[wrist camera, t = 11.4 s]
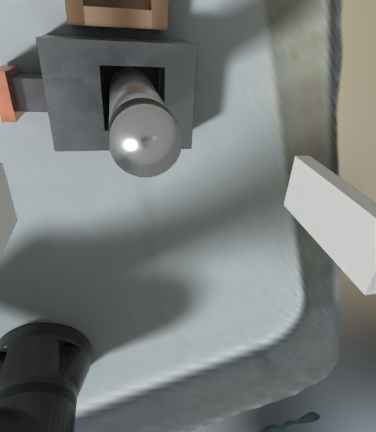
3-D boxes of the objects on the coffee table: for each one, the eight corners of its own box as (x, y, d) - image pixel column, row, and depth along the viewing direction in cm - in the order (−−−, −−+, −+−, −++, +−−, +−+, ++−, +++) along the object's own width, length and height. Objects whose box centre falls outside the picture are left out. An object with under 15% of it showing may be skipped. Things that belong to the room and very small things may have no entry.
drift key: (13, 111, 34) (2, 121, 30) (3, 65, 32) (-11, 71, 28) (94, 111, 35) (92, 121, 32) (89, 67, 33) (87, 73, 30)
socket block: (61, 136, 36) (54, 151, 32) (45, 34, 31) (35, 37, 27) (182, 134, 39) (191, 148, 35) (186, 41, 34) (197, 44, 30)
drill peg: (110, 112, 36) (110, 179, 21) (107, 66, 34) (105, 105, 19) (152, 112, 37) (181, 176, 22) (152, 67, 35) (184, 105, 20)
